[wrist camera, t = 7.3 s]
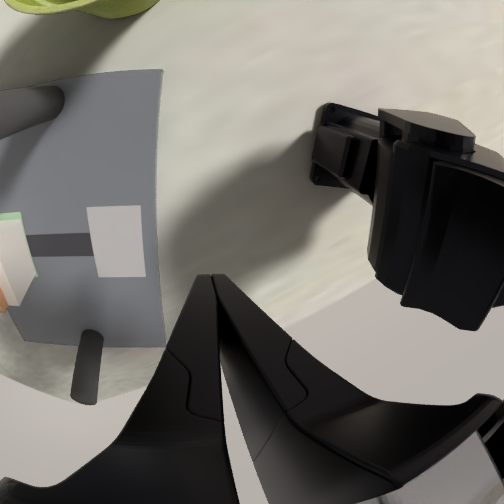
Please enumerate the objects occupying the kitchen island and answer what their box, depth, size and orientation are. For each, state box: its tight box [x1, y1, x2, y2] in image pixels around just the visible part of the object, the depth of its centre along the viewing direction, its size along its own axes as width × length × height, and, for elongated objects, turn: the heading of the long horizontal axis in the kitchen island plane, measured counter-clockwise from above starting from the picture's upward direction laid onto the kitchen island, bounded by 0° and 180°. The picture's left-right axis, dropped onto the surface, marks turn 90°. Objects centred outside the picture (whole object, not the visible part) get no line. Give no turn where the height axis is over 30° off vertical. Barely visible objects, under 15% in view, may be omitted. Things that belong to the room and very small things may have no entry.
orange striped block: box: [0, 219, 36, 313], centre depth 14 cm, size 3×5×5 cm, turn 173°
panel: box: [0, 69, 166, 347], centre depth 17 cm, size 17×24×1 cm
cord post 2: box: [70, 329, 104, 405], centre depth 20 cm, size 2×2×7 cm
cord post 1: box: [0, 85, 65, 140], centre depth 9 cm, size 2×2×7 cm
